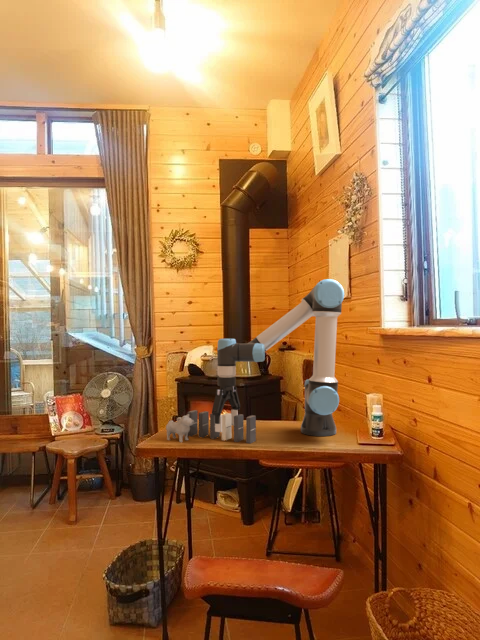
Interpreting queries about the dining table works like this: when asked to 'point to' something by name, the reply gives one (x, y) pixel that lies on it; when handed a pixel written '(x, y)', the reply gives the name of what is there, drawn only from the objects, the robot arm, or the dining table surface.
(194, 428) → the domino
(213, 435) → the domino
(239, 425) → the domino
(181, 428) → the grey dog figurine
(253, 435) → the domino
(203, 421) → the domino
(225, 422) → the cream domino
